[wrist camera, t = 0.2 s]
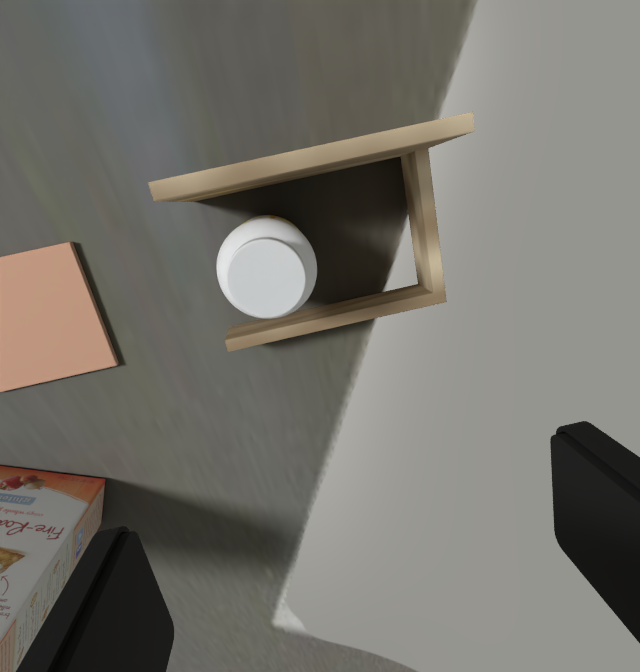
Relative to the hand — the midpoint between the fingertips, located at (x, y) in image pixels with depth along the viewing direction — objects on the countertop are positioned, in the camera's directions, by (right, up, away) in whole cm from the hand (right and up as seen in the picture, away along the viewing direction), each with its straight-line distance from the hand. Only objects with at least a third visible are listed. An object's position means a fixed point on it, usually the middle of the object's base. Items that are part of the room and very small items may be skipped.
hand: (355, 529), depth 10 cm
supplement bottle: (-5, +11, +28) cm, 31 cm away
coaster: (-25, +6, +27) cm, 38 cm away
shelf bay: (-1, +12, +28) cm, 30 cm away
